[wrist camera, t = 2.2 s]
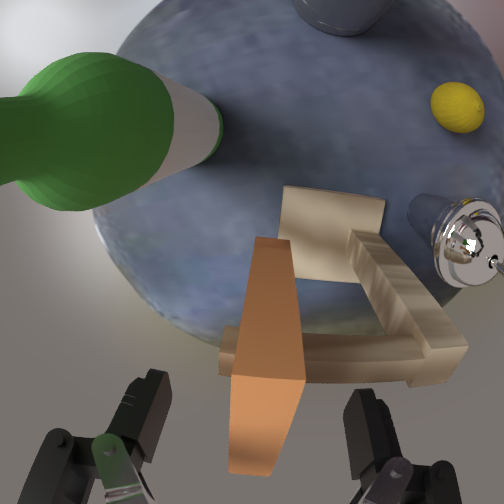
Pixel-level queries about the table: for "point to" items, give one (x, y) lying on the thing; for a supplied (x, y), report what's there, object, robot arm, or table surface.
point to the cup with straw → (460, 238)
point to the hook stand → (376, 288)
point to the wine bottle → (101, 131)
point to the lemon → (457, 107)
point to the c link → (266, 361)
